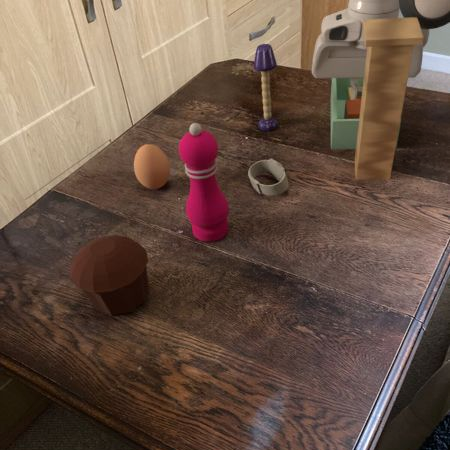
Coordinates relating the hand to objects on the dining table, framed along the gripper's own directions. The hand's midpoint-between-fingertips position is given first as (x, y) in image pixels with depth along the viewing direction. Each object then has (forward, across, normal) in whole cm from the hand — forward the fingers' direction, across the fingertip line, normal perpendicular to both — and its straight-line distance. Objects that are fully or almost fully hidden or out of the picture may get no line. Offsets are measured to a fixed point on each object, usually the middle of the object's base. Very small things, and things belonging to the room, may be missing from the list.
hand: (360, 98), depth 99 cm
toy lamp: (+8, +19, -3) cm, 21 cm away
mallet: (+7, 0, -5) cm, 8 cm away
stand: (+7, -2, +17) cm, 19 cm away
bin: (+7, -1, -3) cm, 8 cm away
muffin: (+8, +38, +49) cm, 63 cm away
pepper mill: (+8, +26, +33) cm, 43 cm away
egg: (+8, +39, +20) cm, 45 cm away
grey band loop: (+8, +17, +20) cm, 27 cm away
